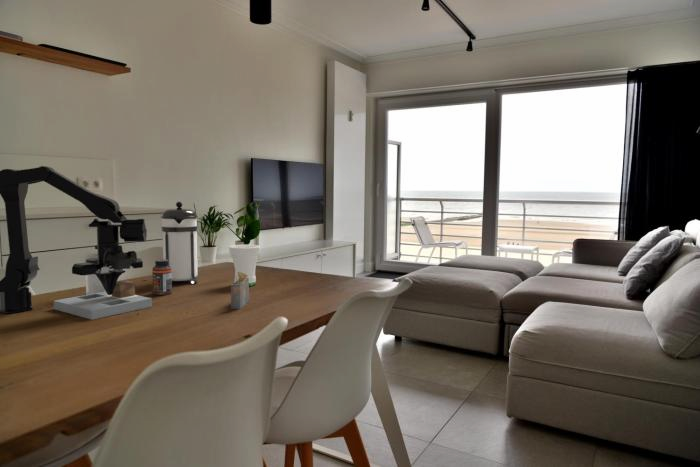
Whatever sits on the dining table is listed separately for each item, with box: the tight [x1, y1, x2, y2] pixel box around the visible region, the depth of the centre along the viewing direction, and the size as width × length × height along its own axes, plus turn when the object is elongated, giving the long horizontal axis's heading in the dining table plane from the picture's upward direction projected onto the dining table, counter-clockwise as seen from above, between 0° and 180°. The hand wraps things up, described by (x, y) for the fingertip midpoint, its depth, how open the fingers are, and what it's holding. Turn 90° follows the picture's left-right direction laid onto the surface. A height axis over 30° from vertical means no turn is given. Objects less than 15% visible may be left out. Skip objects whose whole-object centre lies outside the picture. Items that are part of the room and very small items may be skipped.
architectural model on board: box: [230, 272, 250, 310], centre depth 149 cm, size 11×3×10 cm, turn 178°
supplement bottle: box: [151, 258, 173, 296], centre depth 163 cm, size 6×6×11 cm
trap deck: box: [53, 292, 153, 321], centre depth 144 cm, size 18×20×2 cm
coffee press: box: [160, 201, 198, 285], centre depth 184 cm, size 17×16×30 cm
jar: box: [84, 256, 106, 295], centre depth 160 cm, size 9×8×12 cm
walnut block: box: [112, 280, 136, 298], centre depth 149 cm, size 5×5×4 cm
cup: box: [228, 244, 261, 287], centre depth 180 cm, size 11×11×14 cm
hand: (109, 294), depth 145 cm, fingers closed
